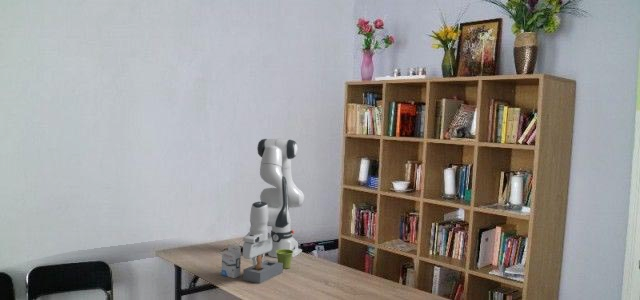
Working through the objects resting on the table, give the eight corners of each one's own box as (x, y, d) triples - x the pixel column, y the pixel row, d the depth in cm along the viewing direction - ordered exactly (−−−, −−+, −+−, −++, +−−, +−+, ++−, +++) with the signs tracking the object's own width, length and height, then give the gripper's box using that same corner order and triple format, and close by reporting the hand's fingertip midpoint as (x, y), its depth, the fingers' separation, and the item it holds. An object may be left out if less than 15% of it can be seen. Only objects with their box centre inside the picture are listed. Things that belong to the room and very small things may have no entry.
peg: (256, 270, 232) (257, 252, 232) (262, 271, 231) (262, 253, 231) (253, 272, 230) (253, 254, 229) (258, 273, 228) (259, 255, 228)
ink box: (220, 275, 234) (221, 246, 234) (227, 272, 239) (228, 244, 238) (234, 278, 230) (234, 248, 229) (240, 275, 235) (241, 246, 234)
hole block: (266, 269, 246) (266, 259, 246) (282, 272, 242) (282, 263, 241) (243, 279, 228) (243, 269, 228) (260, 283, 224) (260, 273, 224)
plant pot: (290, 270, 245) (290, 254, 245) (273, 269, 247) (273, 252, 246) (294, 265, 254) (295, 250, 254) (278, 264, 256) (278, 248, 256)
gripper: (265, 231, 240) (264, 257, 241) (240, 238, 222) (240, 267, 223) (275, 232, 237) (274, 259, 238) (251, 240, 219) (250, 269, 220)
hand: (257, 263), depth 230 cm, fingers closed on peg, 3 cm apart
